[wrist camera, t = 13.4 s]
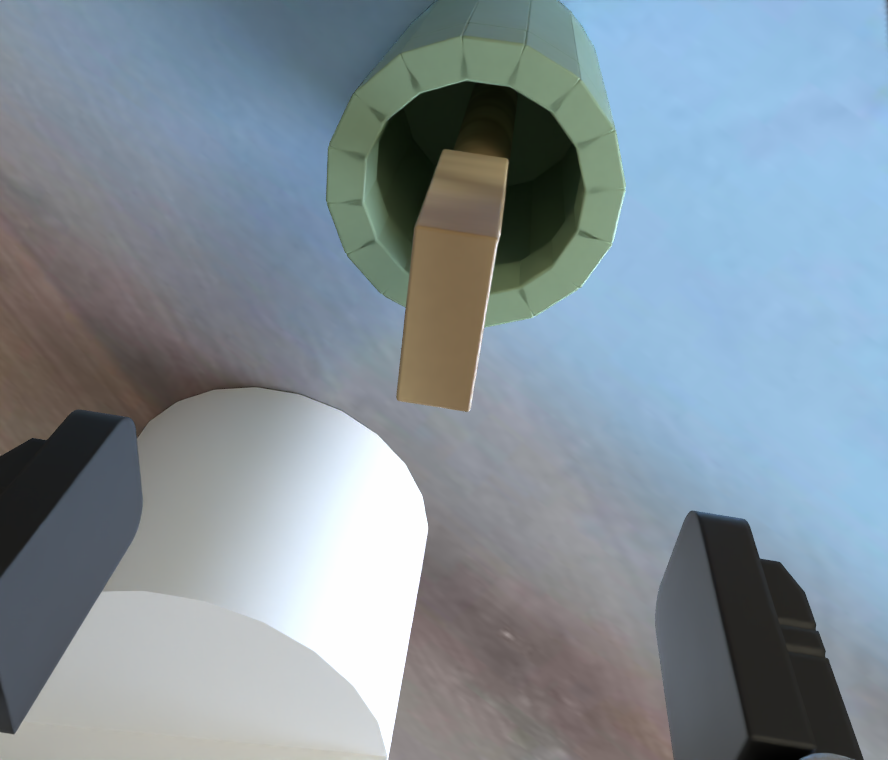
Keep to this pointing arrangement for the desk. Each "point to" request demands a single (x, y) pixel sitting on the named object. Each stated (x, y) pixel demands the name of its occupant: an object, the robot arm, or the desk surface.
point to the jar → (531, 161)
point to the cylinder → (246, 595)
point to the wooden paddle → (457, 256)
